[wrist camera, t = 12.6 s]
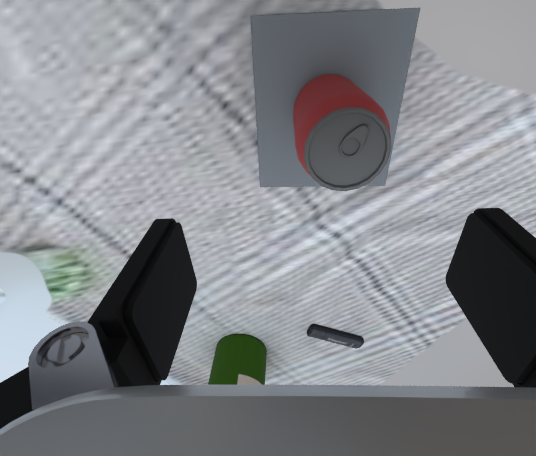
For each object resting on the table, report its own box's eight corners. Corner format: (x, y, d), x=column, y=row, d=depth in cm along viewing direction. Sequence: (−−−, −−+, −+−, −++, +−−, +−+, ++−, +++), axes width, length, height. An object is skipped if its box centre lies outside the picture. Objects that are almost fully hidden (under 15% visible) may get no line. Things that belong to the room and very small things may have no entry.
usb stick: (304, 330, 50) (305, 338, 48) (311, 320, 48) (311, 328, 47) (356, 343, 51) (358, 351, 50) (363, 334, 50) (365, 342, 48)
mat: (251, 16, 26) (250, 15, 25) (416, 8, 25) (420, 7, 24) (260, 183, 35) (260, 187, 34) (383, 182, 34) (385, 185, 33)
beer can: (375, 97, 28) (423, 134, 18) (333, 155, 32) (355, 213, 22) (318, 57, 27) (336, 75, 17) (280, 122, 30) (277, 169, 20)
